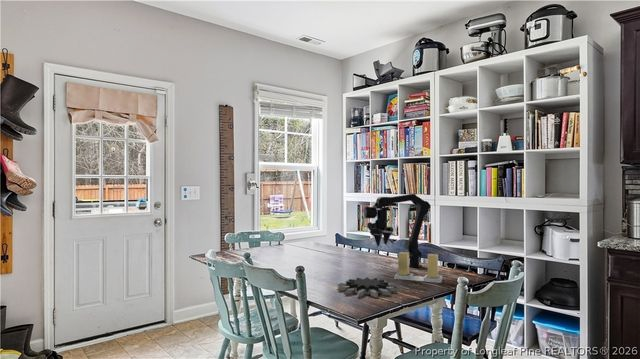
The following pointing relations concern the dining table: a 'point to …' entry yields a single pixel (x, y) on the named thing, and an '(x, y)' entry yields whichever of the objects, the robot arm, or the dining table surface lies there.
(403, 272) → the billet
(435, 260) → the seated billet
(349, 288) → the decorative piece
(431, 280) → the white shallow tray
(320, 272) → the dining table surface
